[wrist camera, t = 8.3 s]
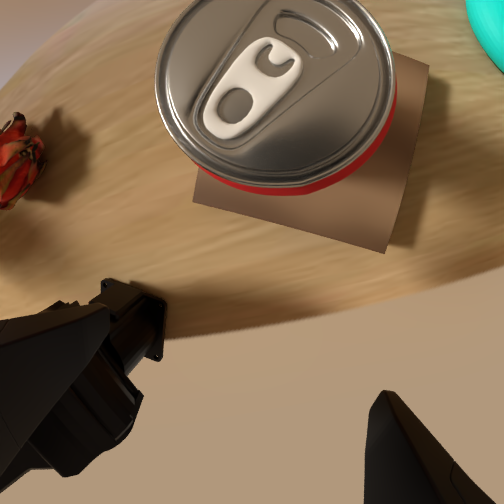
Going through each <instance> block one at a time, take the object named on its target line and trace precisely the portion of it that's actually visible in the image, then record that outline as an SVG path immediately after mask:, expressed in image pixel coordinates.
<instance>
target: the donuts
mask: <svg viewBox="0 0 504 504" xmlns="http://www.w3.org/2000/svg"><path fill="white" fill-rule="evenodd" d="M466 9H467V15H468V18H469V22H470V24H471V27H472V29H473V31H474V34H475V36H476V37H477V39H478V41H479V43H480V44H481V46H482V48H483V49H484V50H485V52H486V53H487V55H488V56H489V57H490V59H491V60H492V61H493V62H494V63H495V64H496V66H497V67H498V68H499V69H500V70H501V71H502V72H503V73H504V0H466Z"/></svg>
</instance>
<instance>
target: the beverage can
mask: <svg viewBox="0 0 504 504" xmlns="http://www.w3.org/2000/svg"><path fill="white" fill-rule="evenodd" d="M155 96H156V102H157V106H158V110H159V113H160V116H161V118H162V121H163V123H164V125H165V127H166V129H167V131H168V132H169V134H170V136H171V137H172V139H173V140H174V141H175V143H176V144H177V145H178V147H179V148H180V149H181V150H182V151H183V152H184V153H185V154H186V155H187V156H188V157H189V158H190V159H191V160H192V161H193V162H194V163H195V164H196V165H197V166H198V167H200V168H201V169H202V170H203V171H205V172H206V173H207V174H209V175H210V176H212V177H213V178H215V179H217V180H219V181H220V182H222V183H224V184H227V185H229V186H231V187H234V188H236V189H239V190H243V191H246V192H250V193H255V194H261V195H269V196H298V195H307V194H310V193H313V192H316V191H318V190H321V189H324V188H326V187H328V186H331V185H333V184H335V183H337V182H339V181H341V180H343V179H344V178H346V177H347V176H349V175H350V174H352V173H353V172H355V171H356V170H357V169H358V168H360V167H361V166H362V165H363V164H364V163H365V162H366V161H367V160H368V159H369V158H370V157H371V156H372V155H373V154H374V152H375V151H376V150H377V148H378V147H379V146H380V144H381V143H382V141H383V139H384V138H385V136H386V134H387V132H388V130H389V127H390V125H391V122H392V119H393V116H394V112H395V107H396V101H397V79H396V72H395V64H394V59H393V54H392V51H391V48H390V45H389V43H388V40H387V38H386V36H385V34H384V32H383V30H382V29H381V27H380V25H379V24H378V22H377V21H376V20H375V18H374V17H373V16H372V15H371V13H370V12H369V11H368V10H367V9H366V8H365V7H364V6H363V5H362V4H361V3H360V2H359V1H357V0H195V1H194V2H192V3H191V4H190V5H189V6H188V7H187V8H186V9H185V10H184V11H183V12H182V13H181V14H180V16H179V17H178V18H177V19H176V21H175V22H174V23H173V25H172V26H171V28H170V30H169V31H168V33H167V35H166V37H165V39H164V41H163V43H162V46H161V48H160V51H159V54H158V58H157V62H156V69H155Z"/></svg>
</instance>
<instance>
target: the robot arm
mask: <svg viewBox="0 0 504 504" xmlns="http://www.w3.org/2000/svg"><path fill="white" fill-rule="evenodd" d="M106 284H107V285H106ZM159 303H160V304H161V305H162V307H161V306H160V305H159ZM166 311H167V303H166V301H165V300H163V299H161V298H158V297H156V296H153V295H150V294H147V293H145V292H143V291H142V290H139V289H136V288H134V287H131V286H128V285H126V284H123V283H120V282H115V281H113V280H110V279H108V278H105V279H103V280H102V281H101V294H99V295H98V296H96V297H95V298H93V299H92V300H91V301H89V304H88V305H83V306H80V305H79V303H78V301H77V300H76V301H75V302H73V303H72V304H69V302H68V303H66V304H65V303H64V302H62V301H60V300H59V301H57V302H56V303H54V304H53V305H51V306H50V307H48V308H46V309H45V310H43V311H41V312H39V313H37V314H34V315H28V316H23V317H17V318H11V319H5V320H0V493H1V492H3V491H4V490H5V489H7V488H8V487H9V486H10V485H12V484H13V483H14V482H16V481H17V480H18V479H19V478H20V477H22V476H23V475H24V474H26V473H27V472H29V471H30V470H35V469H54V470H56V471H57V472H58V473H59V474H60V475H61V476H62V477H70V476H74V475H78V474H79V473H80V472H81V471H82V470H83V469H84V468H85V467H87V466H88V465H89V463H90V462H92V461H93V460H94V459H95V458H96V457H97V456H99V455H100V454H101V453H103V452H104V451H108V450H110V449H112V448H114V447H115V446H117V445H118V444H120V443H121V442H122V441H123V440H124V439H125V438H126V437H127V436H128V434H129V433H130V432H131V430H132V428H133V425H134V422H135V419H136V416H137V413H138V411H139V408H140V405H141V402H142V400H143V397H144V395H143V394H142V393H141V392H140V390H137V388H136V387H135V386H134V385H133V383H132V382H131V381H130V380H129V378H128V377H127V376H128V375H129V373H130V372H131V371H132V370H133V369H134V368H135V366H136V365H137V364H138V363H139V362H140V361H141V359H142V358H143V357H146V358H149V359H151V360H154V361H157V362H159V361H161V359H162V358H163V346H164V334H165V322H166ZM156 355H157V356H158V357H157V356H156ZM364 504H496V503H495V502H494V501H493V500H492V499H491V498H490V497H489V496H488V495H486V494H485V492H483V491H482V490H481V489H480V488H479V487H478V486H477V485H476V484H475V483H474V482H473V481H472V480H471V479H470V478H469V476H468V475H467V474H466V473H465V472H464V471H463V470H462V469H461V467H460V466H459V465H458V464H457V463H456V462H455V461H454V459H453V458H452V457H451V456H450V455H449V453H448V452H447V451H446V450H445V449H444V448H443V447H442V445H441V444H440V443H439V442H438V441H437V440H436V438H435V437H434V436H433V435H432V434H431V433H430V431H429V430H428V429H427V428H426V427H425V426H424V425H423V423H422V422H421V421H420V420H419V419H418V418H417V417H416V415H414V413H413V412H412V411H411V410H410V408H409V407H408V406H407V405H406V404H405V403H404V402H403V401H402V399H401V398H400V397H399V396H398V395H397V394H396V393H395V392H393V391H387V390H383V391H381V393H380V394H379V396H378V397H377V399H376V400H375V402H374V403H373V405H372V407H371V409H370V411H369V419H368V429H367V438H366V448H365V479H364Z"/></svg>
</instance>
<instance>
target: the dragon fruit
mask: <svg viewBox="0 0 504 504" xmlns="http://www.w3.org/2000/svg"><path fill="white" fill-rule="evenodd" d="M13 117H14V121H13V123H12V124H11V126H10V127H9V128H8V129H7V130H6V131H5V132H3V131H4V130H5V129H6V128H7V126H8V125H9V124H10V122H11V120H10V121H8V122H7V123H6V124H5V125H4V127H3V128H2V130H1V129H0V209H1V210H10V209H12V208H13V207H14V206H15V203H16V202H17V200H18V199H20V198H21V197H22V196H23V195H24V194H25V193H26V192H27V190H28V189H29V187H30V186H31V185H32V184H33V182H34V181H35V179H36V178H37V179H38V178H39V177H40V175H41V173H42V172H43V170H44V168H45V167H46V163H47V160H46V161H45V162H43V163H40V161H39V160H37V159H38V158H39V157H40V155H41V153H42V152H43V151H44V148H45V145H44V144H43V143H42V141H41V139H40V138H39V136H38V135H36V136H34V137H31V136H25V135H24V134H25V131H26V127H27V125H26V119H25V117H24V115H23V114H21V113H19V112H14V113H13ZM31 130H32V129H31Z"/></svg>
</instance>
